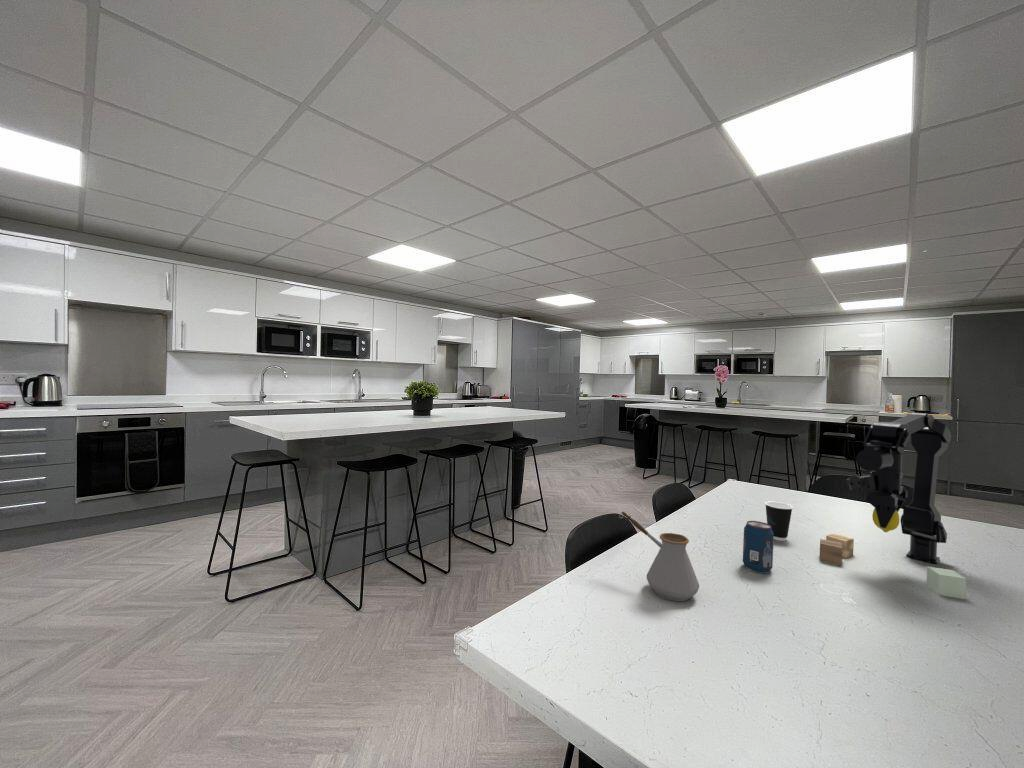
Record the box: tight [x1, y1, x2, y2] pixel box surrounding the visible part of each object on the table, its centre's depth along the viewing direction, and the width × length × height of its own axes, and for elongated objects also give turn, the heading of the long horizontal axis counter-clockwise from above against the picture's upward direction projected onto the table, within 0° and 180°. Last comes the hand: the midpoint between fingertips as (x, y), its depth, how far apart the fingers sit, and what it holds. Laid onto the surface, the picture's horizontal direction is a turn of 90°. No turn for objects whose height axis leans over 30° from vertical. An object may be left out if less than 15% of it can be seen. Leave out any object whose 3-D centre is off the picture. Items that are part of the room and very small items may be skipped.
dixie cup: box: [764, 500, 794, 542], centre depth 137 cm, size 8×8×11 cm
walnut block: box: [819, 538, 843, 566], centre depth 120 cm, size 5×5×5 cm
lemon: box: [871, 508, 900, 533], centre depth 114 cm, size 6×6×8 cm
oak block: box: [825, 533, 855, 559], centre depth 126 cm, size 5×5×5 cm
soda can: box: [742, 520, 774, 574], centre depth 113 cm, size 7×7×12 cm
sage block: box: [925, 566, 967, 600], centre depth 103 cm, size 5×5×5 cm
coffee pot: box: [618, 511, 700, 602], centre depth 101 cm, size 21×12×15 cm, turn 37°
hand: (885, 525), depth 114 cm, fingers closed on lemon, 5 cm apart
